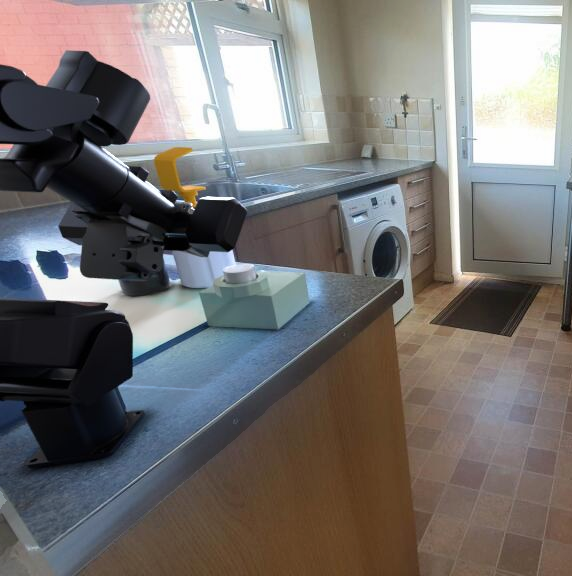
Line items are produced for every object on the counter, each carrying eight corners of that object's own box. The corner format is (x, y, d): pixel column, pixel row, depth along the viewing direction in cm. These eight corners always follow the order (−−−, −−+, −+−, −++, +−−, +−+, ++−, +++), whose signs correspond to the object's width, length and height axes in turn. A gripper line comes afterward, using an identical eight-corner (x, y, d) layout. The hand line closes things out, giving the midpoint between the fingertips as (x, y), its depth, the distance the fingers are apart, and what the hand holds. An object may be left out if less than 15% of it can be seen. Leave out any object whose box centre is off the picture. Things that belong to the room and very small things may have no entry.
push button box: (273, 334, 62) (263, 288, 59) (201, 330, 62) (187, 284, 59) (310, 302, 72) (303, 262, 69) (248, 299, 72) (239, 259, 69)
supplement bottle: (144, 298, 71) (121, 231, 66) (112, 294, 72) (88, 228, 68) (181, 284, 77) (162, 222, 73) (151, 280, 78) (131, 219, 74)
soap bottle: (249, 275, 83) (220, 147, 73) (208, 291, 75) (170, 151, 65) (213, 269, 85) (181, 145, 75) (169, 285, 77) (127, 147, 67)
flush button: (246, 286, 60) (243, 273, 59) (219, 285, 60) (216, 272, 60) (262, 276, 64) (259, 264, 63) (237, 275, 64) (234, 263, 63)
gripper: (-40, 249, 38) (112, 307, 52) (159, 259, 37) (257, 314, 52) (21, 153, 42) (147, 231, 56) (201, 161, 41) (280, 237, 56)
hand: (206, 254), depth 55 cm, fingers closed
